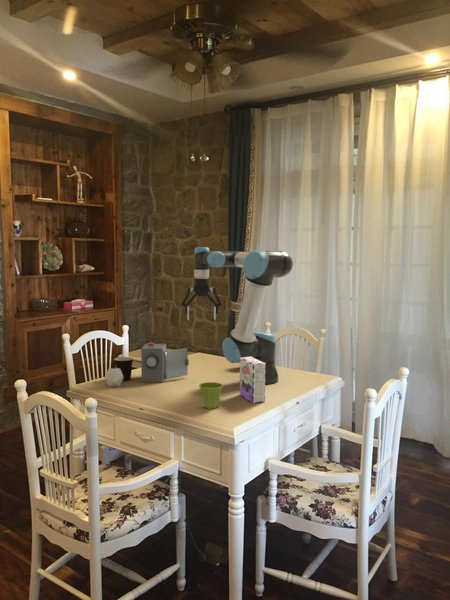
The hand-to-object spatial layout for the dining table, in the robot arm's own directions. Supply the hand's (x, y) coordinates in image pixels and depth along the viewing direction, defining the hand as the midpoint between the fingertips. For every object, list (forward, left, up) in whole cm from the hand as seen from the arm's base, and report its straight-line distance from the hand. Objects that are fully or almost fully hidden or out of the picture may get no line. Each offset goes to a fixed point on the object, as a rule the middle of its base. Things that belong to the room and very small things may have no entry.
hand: (201, 319), depth 260 cm
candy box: (-55, -2, -27) cm, 61 cm away
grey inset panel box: (-9, +28, -26) cm, 39 cm away
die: (-13, +47, -27) cm, 56 cm away
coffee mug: (-2, +40, -27) cm, 48 cm away
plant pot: (-59, +18, -27) cm, 67 cm away
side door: (-14, +18, -25) cm, 34 cm away
